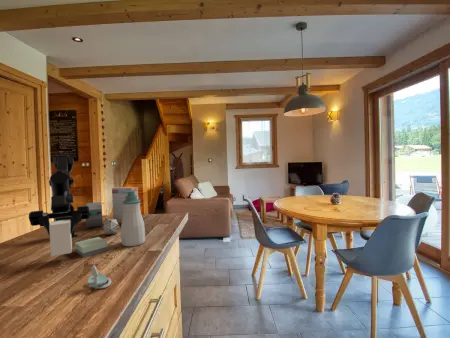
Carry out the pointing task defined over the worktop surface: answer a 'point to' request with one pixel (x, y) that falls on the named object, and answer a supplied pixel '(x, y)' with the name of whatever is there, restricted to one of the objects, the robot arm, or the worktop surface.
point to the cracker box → (120, 201)
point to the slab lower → (92, 251)
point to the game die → (111, 226)
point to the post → (60, 237)
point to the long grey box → (94, 215)
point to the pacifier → (98, 279)
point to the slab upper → (90, 244)
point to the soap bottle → (132, 221)
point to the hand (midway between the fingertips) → (60, 234)
